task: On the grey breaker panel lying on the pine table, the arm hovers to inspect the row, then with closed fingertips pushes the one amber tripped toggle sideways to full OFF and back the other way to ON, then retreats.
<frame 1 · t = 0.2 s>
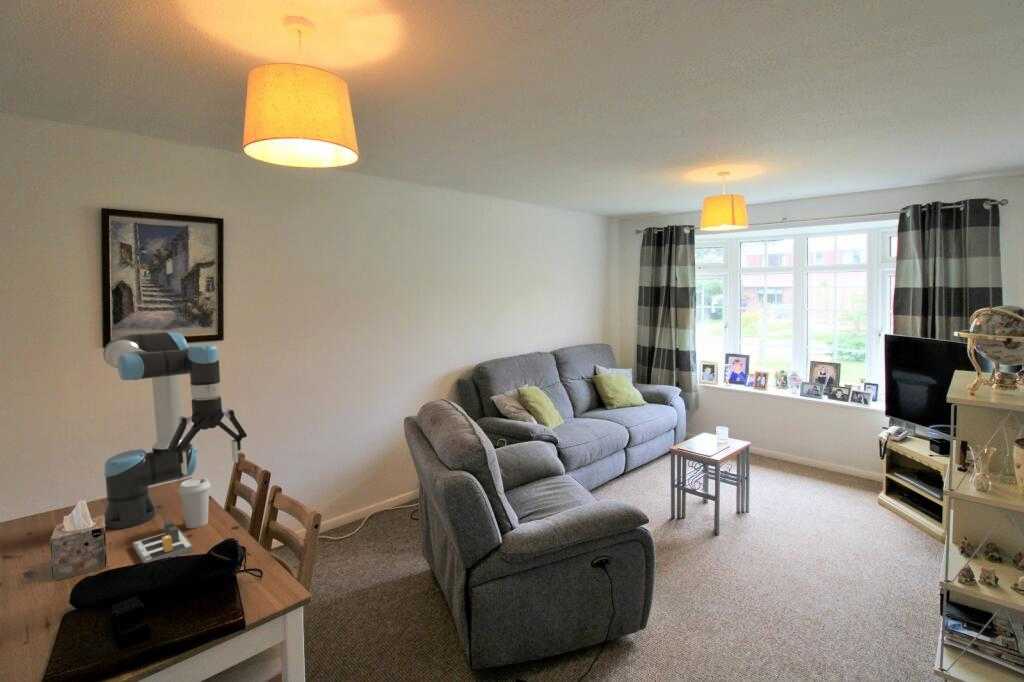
hand: (210, 467, 152), 28 cm above the table, fingers open, 13 cm apart
coffee cup: (197, 524, 175), on the table
tripped toggle: (167, 543, 154), point 4 cm above the table, slide at 0.0 cm
panel: (163, 548, 159), on the table
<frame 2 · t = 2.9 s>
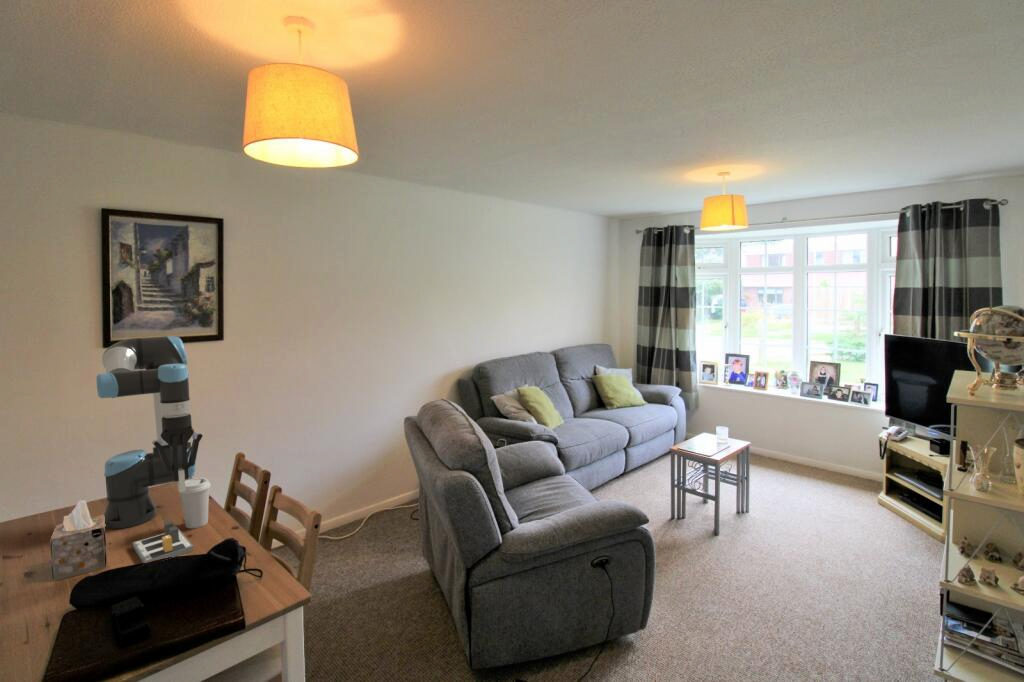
hand: (181, 490, 157), 19 cm above the table, fingers closed
nothing on the table moved.
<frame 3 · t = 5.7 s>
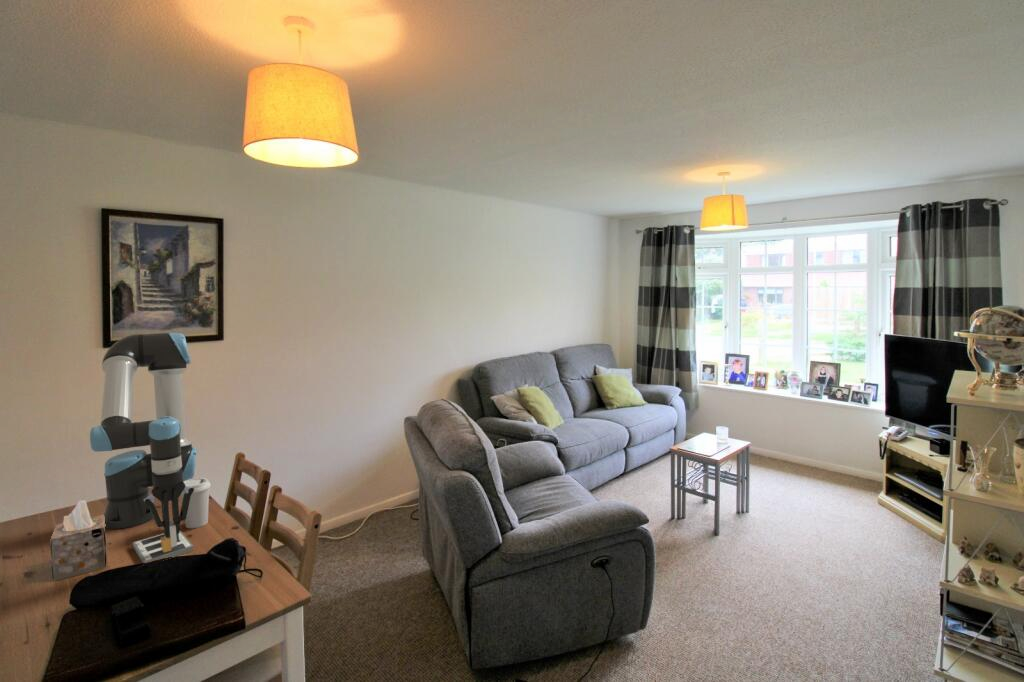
hand: (172, 544, 155), 3 cm above the table, fingers closed
tripped toggle: (166, 543, 154), point 4 cm above the table, slide at -0.3 cm, touching gripper
everything else where it was.
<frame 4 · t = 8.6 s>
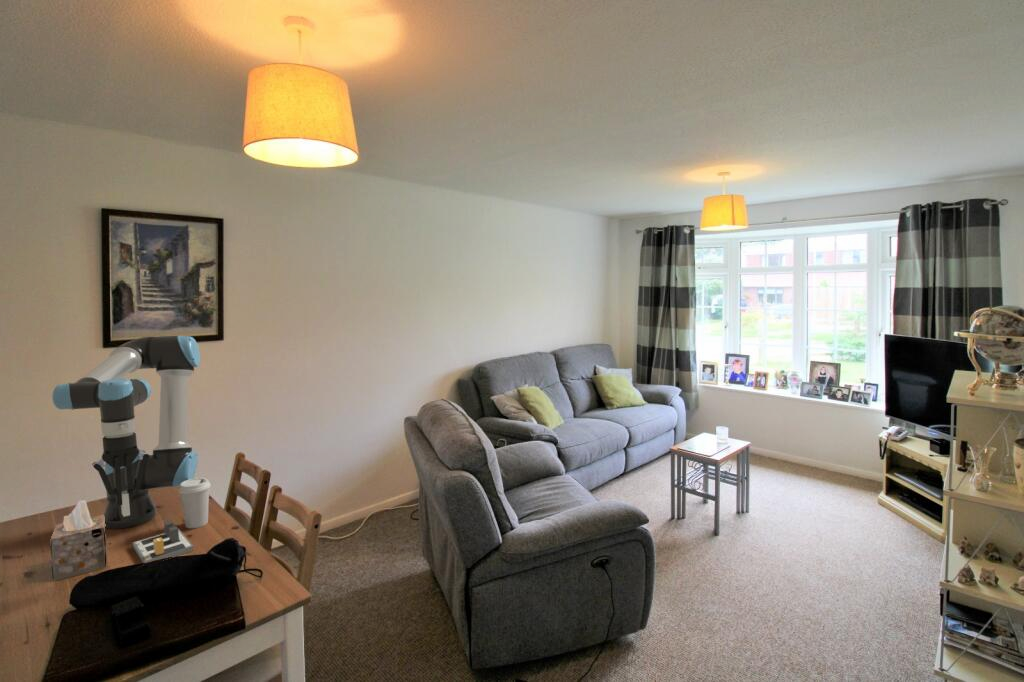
hand: (125, 514, 146), 16 cm above the table, fingers closed
tripped toggle: (158, 546, 153), point 4 cm above the table, slide at -2.2 cm
everything else where it was.
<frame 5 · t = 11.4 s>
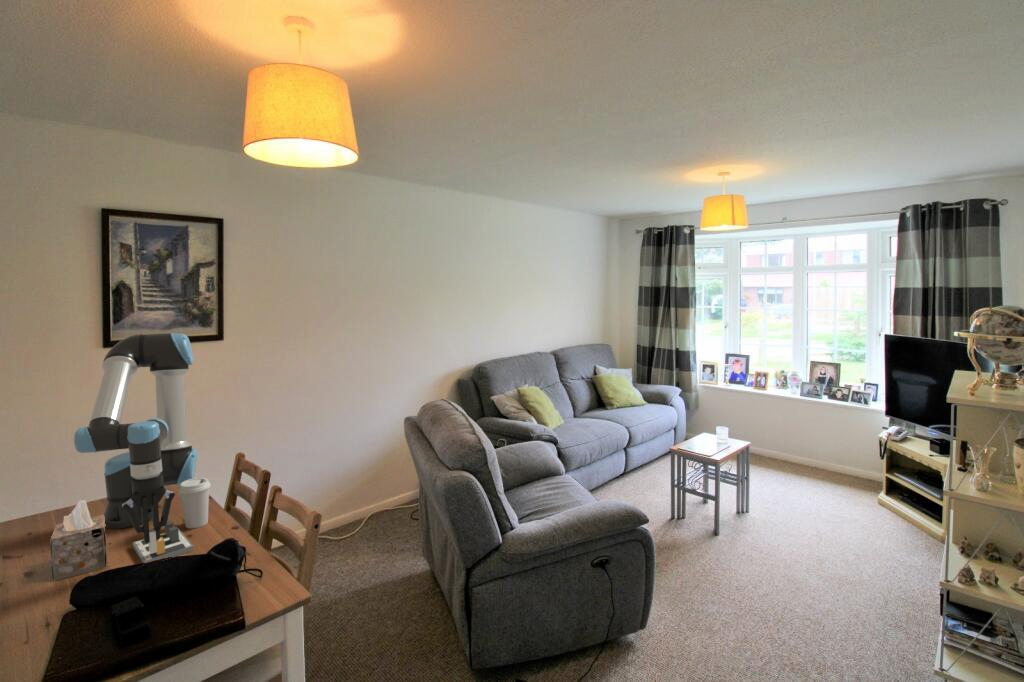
hand: (153, 551, 152), 3 cm above the table, fingers closed
tripped toggle: (159, 545, 153), point 4 cm above the table, slide at -1.9 cm, touching gripper
everything else where it was.
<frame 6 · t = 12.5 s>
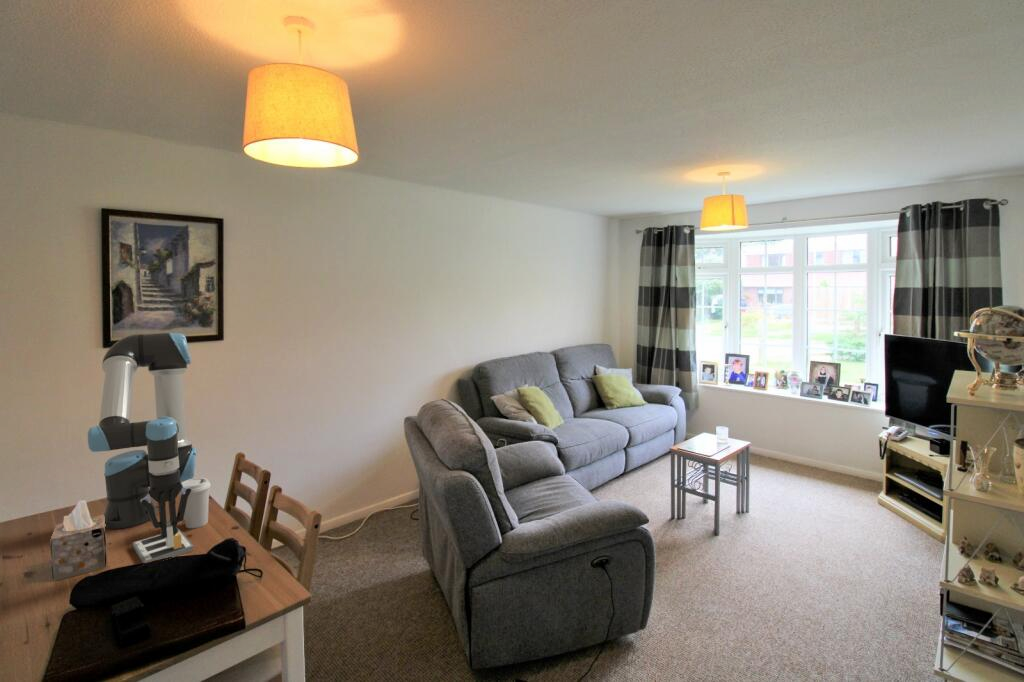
hand: (170, 545, 155), 3 cm above the table, fingers closed
tripped toggle: (176, 540, 156), point 4 cm above the table, slide at 2.4 cm, touching gripper
everything else where it was.
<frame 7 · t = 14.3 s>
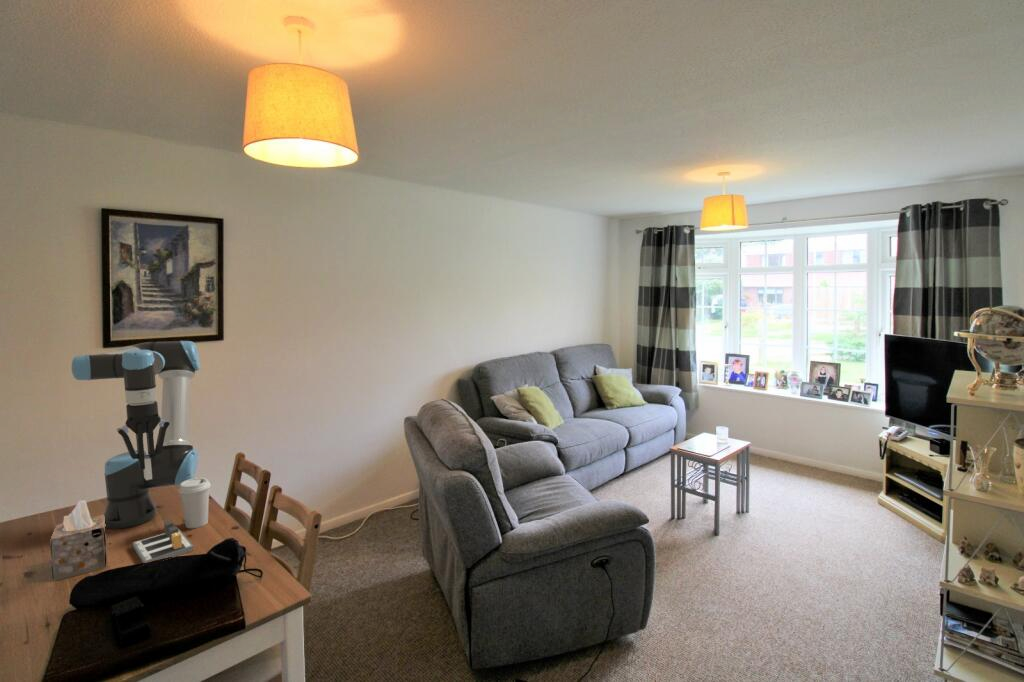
hand: (148, 478, 154), 24 cm above the table, fingers closed
tripped toggle: (176, 540, 156), point 4 cm above the table, slide at 2.4 cm
everything else where it was.
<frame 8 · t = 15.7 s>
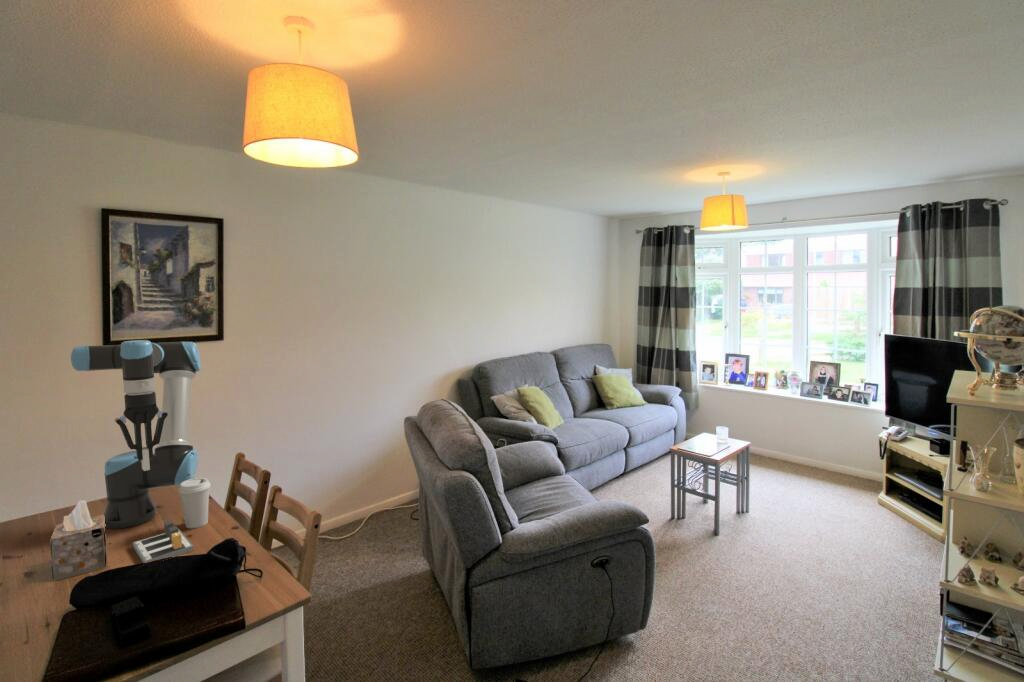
hand: (146, 469, 154), 26 cm above the table, fingers closed
nothing on the table moved.
at the end: tripped toggle slide at 2.4 cm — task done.
